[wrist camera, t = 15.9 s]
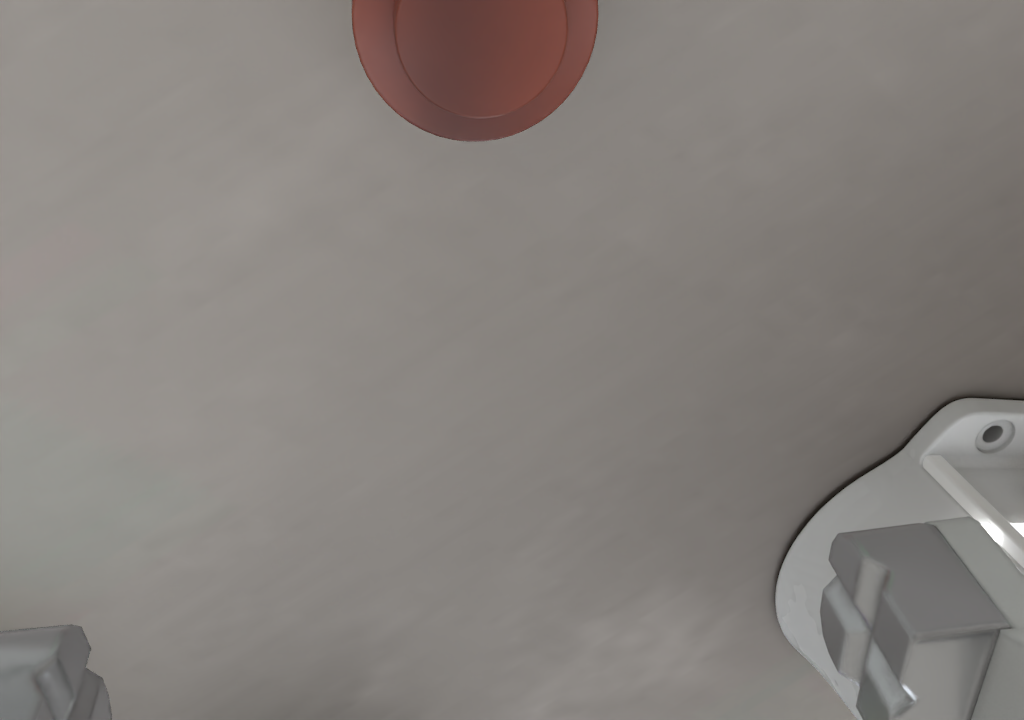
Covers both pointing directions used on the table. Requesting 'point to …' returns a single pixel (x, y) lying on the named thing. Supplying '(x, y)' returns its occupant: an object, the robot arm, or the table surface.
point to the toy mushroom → (474, 60)
